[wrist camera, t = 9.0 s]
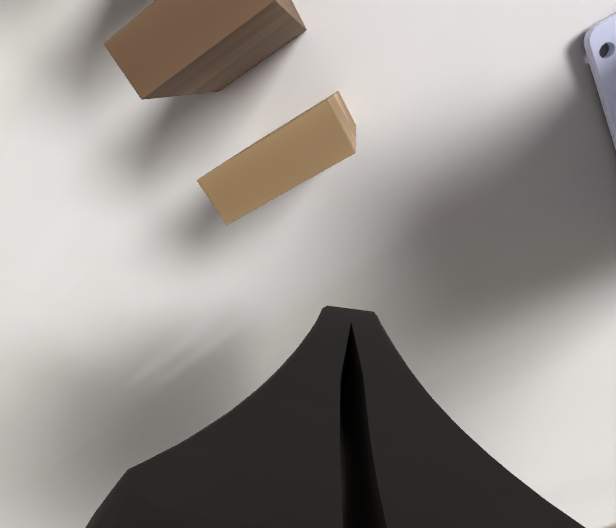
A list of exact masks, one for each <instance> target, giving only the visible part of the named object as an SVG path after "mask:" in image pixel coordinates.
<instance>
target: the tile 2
mask: <svg viewBox="0 0 616 528" xmlns="http://www.w3.org/2000/svg"><path fill="white" fill-rule="evenodd" d="M305 30H307V29H306V28H305V26H304V24H303V22H302V20H301V18H300V16H299V14H298V12H297V10H296V8H295V6H294V4H293V2H292V0H156V1H155V2H154V3H152V4H151V5H150V6H149V7H148V8H146V9H145V10H144V11H143V12H142V13H140V14H139V15H138V16H137V17H136V18H134V19H133V20H132V21H131V22H130V23H128V24H127V25H126V26H125V27H124V28H122V29H121V30H120V31H119V32H118V33H116V34H115V35H114V36H113V37H112V38H110V39H109V40H108V41H107V42H105V43H104V45H105V47H106V48H107V50H108V51H109V53H110V54H111V56H112V57H113V58H114V60H115V61H116V63H117V64H118V66H119V67H120V69H121V70H122V72H123V73H124V75H125V76H126V77H127V79H128V80H129V82H130V83H131V85H132V86H133V88H134V89H135V91H136V92H137V94H138V95H139V97H140V98H141V99H152V98H161V97H170V96H179V95H189V94H198V93H207V92H216V91H220V90H221V89H222V88H224V87H225V86H227V85H228V84H230V83H231V82H232V81H234V80H235V79H237V78H238V77H240V76H241V75H242V74H244V73H245V72H247V71H248V70H250V69H251V68H252V67H254V66H255V65H257V64H258V63H260V62H261V61H262V60H264V59H265V58H267V57H268V56H270V55H271V54H272V53H274V52H275V51H277V50H278V49H280V48H281V47H283V46H284V45H285V44H287V43H288V42H290V41H291V40H293V39H294V38H295V37H297V36H298V35H300V34H301V33H303V32H304V31H305Z"/></svg>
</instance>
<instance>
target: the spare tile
mask: <svg viewBox="0 0 616 528" xmlns="http://www.w3.org/2000/svg"><path fill="white" fill-rule="evenodd" d="M355 146H356V125H355V123H354V121H353V119H352V117H351V115H350V113H349V111H348V109H347V107H346V105H345V103H344V101H343V99H342V97H341V95H340V93H339V91H338V92H336V93H334V94H333V95H331V96H330V97H328V98H326V99H325V100H323V101H321V102H320V103H318V104H317V105H315V106H313V107H312V108H310V109H309V110H307V111H305V112H304V113H302V114H300V115H299V116H297V117H296V118H294V119H292V120H291V121H289V122H288V123H286V124H284V125H283V126H281V127H280V128H278V129H276V130H275V131H273V132H271V133H270V134H268V135H267V136H265V137H263V138H262V139H260V140H259V141H257V142H255V143H254V144H252V145H251V146H249V147H247V148H246V149H244V150H243V151H241V152H240V153H238V154H237V155H235V156H233V157H232V158H230V159H229V160H227V161H226V162H224V163H223V164H221V165H220V166H218V167H216V168H215V169H213V170H212V171H210V172H209V173H207V174H206V175H204V176H203V177H201V178H199V179H198V180H197V182H198V183H199V185H200V186H201V187H202V189H203V190H204V192H205V193H206V195H207V196H208V198H209V199H210V201H211V202H212V204H213V205H214V207H215V208H216V210H217V211H218V213H219V214H220V216H221V217H222V219H223V220H224V222H225V223H226V225H228V224H229V223H231V222H233V221H235V220H236V219H238V218H240V217H242V216H244V215H245V214H247V213H249V212H251V211H253V210H254V209H256V208H258V207H260V206H261V205H263V204H265V203H267V202H269V201H270V200H272V199H274V198H276V197H278V196H279V195H281V194H283V193H285V192H286V191H288V190H290V189H292V188H294V187H295V186H297V185H299V184H301V183H303V182H304V181H306V180H308V179H310V178H311V177H313V176H315V175H317V174H319V173H320V172H322V171H324V170H326V169H328V168H329V167H331V166H333V165H335V164H336V163H338V162H340V161H342V160H344V159H345V158H347V157H349V156H351V155H352V154H354V153H355Z"/></svg>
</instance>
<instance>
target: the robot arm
mask: <svg viewBox="0 0 616 528" xmlns="http://www.w3.org/2000/svg"><path fill="white" fill-rule="evenodd" d="M605 43H606V44H607V45H608V46H609V51H608V53H607V55H606V56H605V57H603V58H602V57H601V56H600V55H599V50H600V48H601V46H602V45H603V44H605ZM584 47H585V51H586V54H587V57H588V61H589V64H590V67H591V71H592V74H593V77H594V80H595V84H596V87H597V90H598V94H599V97H600V100H601V103H602V107H603V110H604V113H605V117H606V120H607V123H608V126H609V130H610V133H611V136H612V140H613V143H614V146H615V149H616V13H614V14H612V15H610V16H609V17H607V18H605V19H603V20H602V21H600V22H598V23H596V24H594V25H593V26H592V27H591V28H589V30H588V31H587V32H586V34H585V37H584ZM86 528H585V527H584V526H582V525H581V524H579V523H578V522H576V521H575V520H574V519H572V518H571V517H569V516H568V515H566V514H565V513H564V512H562V511H561V510H559V509H558V508H556V507H555V506H553V505H552V504H551V503H549V502H548V501H546V500H545V499H544V498H542V497H541V496H540V495H538V494H537V493H536V492H535V491H533V490H532V489H531V488H530V487H528V486H527V485H526V484H524V483H523V482H522V481H521V480H519V479H518V478H517V477H516V476H514V475H513V474H512V473H510V472H509V471H508V470H507V469H506V468H504V467H503V466H502V465H501V464H500V463H498V462H497V461H496V460H495V459H494V458H493V457H491V456H490V455H489V454H488V453H487V452H486V451H485V450H484V449H482V448H481V447H480V446H479V445H478V444H477V443H476V442H475V441H474V440H473V439H472V438H470V437H469V436H468V435H467V434H466V433H465V432H464V431H463V430H462V429H461V428H460V427H459V426H458V425H457V424H456V423H455V422H454V421H453V420H452V419H451V418H450V417H449V416H448V415H447V414H446V413H445V412H444V411H443V409H442V408H441V407H440V406H439V405H438V404H437V403H436V402H435V401H434V400H433V399H432V397H431V396H430V395H429V394H428V393H427V391H426V390H425V389H424V388H423V386H422V385H421V384H420V382H419V381H418V380H417V379H416V377H415V376H414V375H413V373H412V372H411V370H410V369H409V368H408V366H407V365H406V363H405V362H404V360H403V359H402V357H401V356H400V354H399V353H398V351H397V350H396V348H395V347H394V345H393V343H392V342H391V340H390V338H389V337H388V335H387V333H386V332H385V330H384V328H383V326H382V324H381V323H380V321H379V319H378V317H377V315H376V314H375V313H374V312H371V311H363V310H356V309H348V308H341V307H333V306H326V307H324V308H323V309H322V310H321V313H320V315H319V317H318V319H317V321H316V323H315V324H314V326H313V327H312V329H311V331H310V332H309V333H308V335H307V336H306V337H305V339H304V340H303V341H302V343H301V344H300V345H299V347H298V348H297V349H296V350H295V352H294V353H293V354H292V355H291V356H290V357H289V358H288V359H287V361H286V362H285V363H284V364H283V365H282V366H281V367H280V368H279V369H278V370H277V371H276V372H275V373H274V374H273V375H272V376H271V377H270V378H269V379H268V380H267V381H266V382H265V383H264V384H263V385H262V386H260V387H259V388H258V389H257V390H256V391H255V392H254V393H252V394H251V395H250V396H249V397H247V398H246V399H245V400H244V401H242V402H241V403H240V404H239V405H237V406H236V407H235V408H233V409H232V410H231V411H229V412H228V413H227V414H225V415H224V416H222V417H221V418H219V419H218V420H216V421H215V422H213V423H212V424H210V425H208V426H207V427H205V428H204V429H202V430H201V431H199V432H198V433H196V434H194V435H193V436H191V437H190V438H188V439H186V440H185V441H183V442H181V443H180V444H178V445H176V446H174V447H172V448H170V449H168V450H166V451H164V452H162V453H160V454H158V455H156V456H155V457H153V458H151V459H149V460H147V461H145V462H143V463H141V464H139V465H137V466H134V467H132V468H130V469H128V470H127V471H126V473H125V474H124V475H123V476H122V478H121V479H120V480H119V482H118V483H117V484H116V485H115V487H114V488H113V489H112V491H111V492H110V493H109V495H108V496H107V497H106V499H105V500H104V501H103V503H102V504H101V505H100V507H99V508H98V509H97V511H96V512H95V514H94V515H93V517H92V518H91V520H90V521H89V523H88V525H87V526H86Z"/></svg>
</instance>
